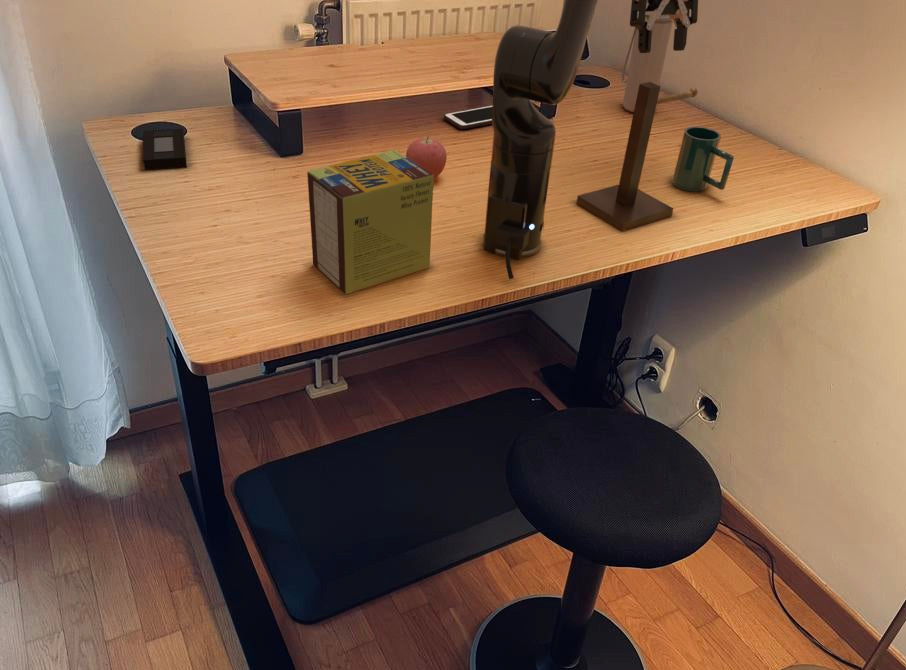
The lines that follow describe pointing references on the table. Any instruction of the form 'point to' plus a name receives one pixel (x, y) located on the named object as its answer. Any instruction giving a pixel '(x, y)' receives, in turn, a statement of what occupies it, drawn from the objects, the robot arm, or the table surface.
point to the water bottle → (646, 60)
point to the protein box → (370, 219)
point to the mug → (699, 160)
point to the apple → (428, 155)
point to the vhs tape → (164, 149)
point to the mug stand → (633, 170)
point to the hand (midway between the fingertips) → (662, 51)
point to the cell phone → (470, 117)
